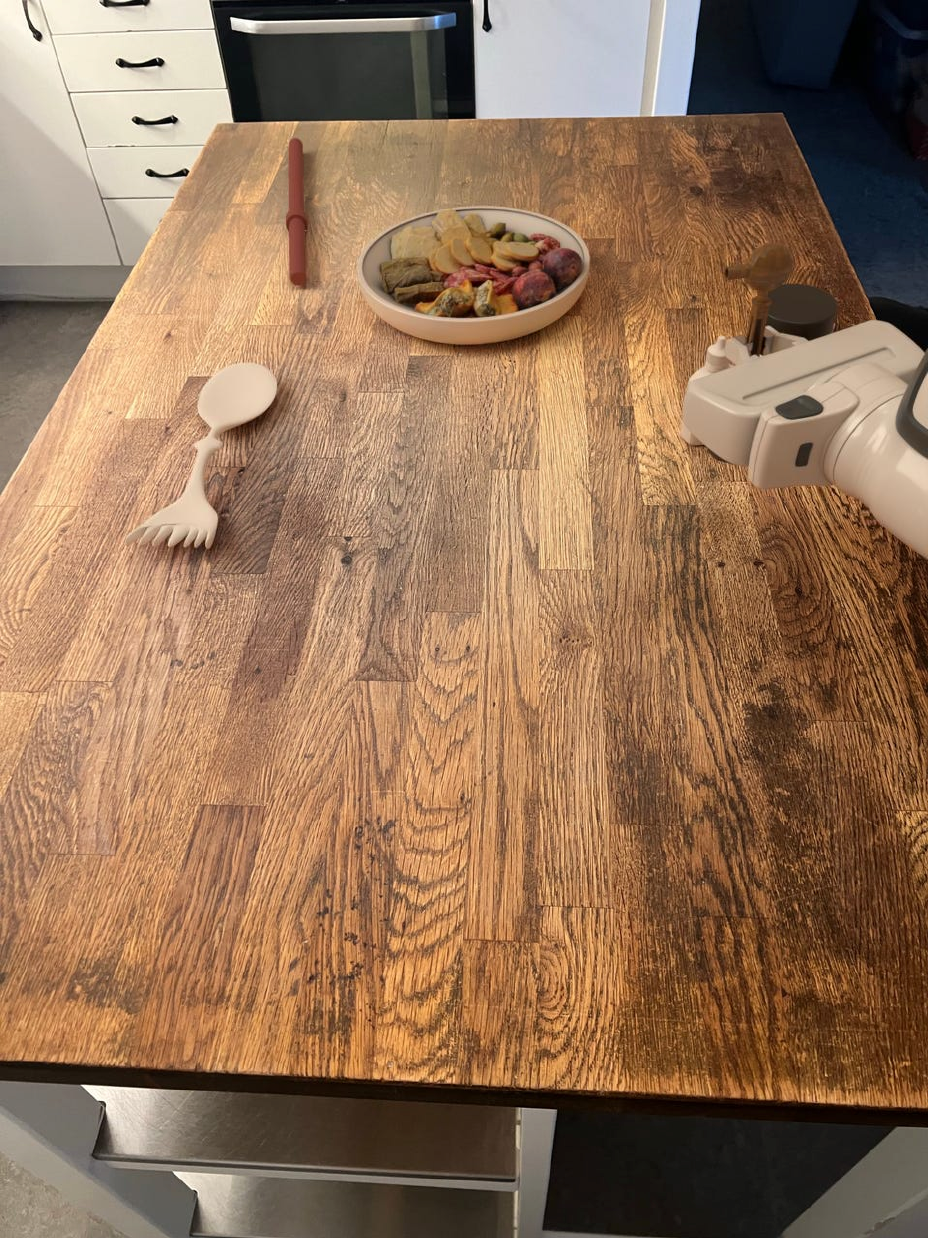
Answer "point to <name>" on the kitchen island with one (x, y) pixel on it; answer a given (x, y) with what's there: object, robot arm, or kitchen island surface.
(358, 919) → the kitchen island surface
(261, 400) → the spoon
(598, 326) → the kitchen island surface
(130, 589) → the kitchen island surface
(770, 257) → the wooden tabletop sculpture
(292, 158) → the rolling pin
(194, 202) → the kitchen island surface
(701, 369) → the eye dropper bottle
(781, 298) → the jar
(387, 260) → the bowl
